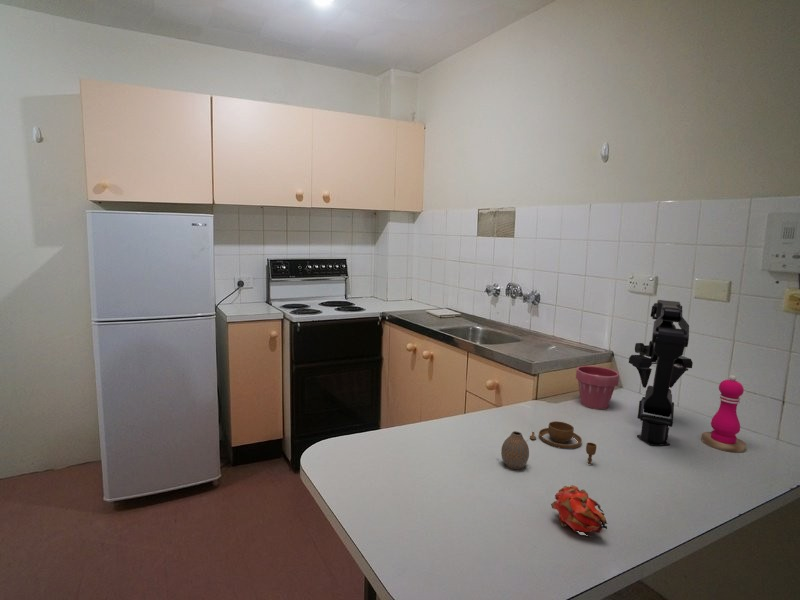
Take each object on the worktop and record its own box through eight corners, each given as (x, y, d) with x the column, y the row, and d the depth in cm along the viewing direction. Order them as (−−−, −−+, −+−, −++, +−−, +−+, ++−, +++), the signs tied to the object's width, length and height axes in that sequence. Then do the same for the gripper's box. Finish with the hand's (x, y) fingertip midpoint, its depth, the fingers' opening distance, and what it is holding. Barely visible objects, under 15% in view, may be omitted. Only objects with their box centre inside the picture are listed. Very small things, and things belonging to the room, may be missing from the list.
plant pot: (568, 396, 177) (572, 363, 176) (607, 399, 176) (611, 366, 174) (579, 410, 163) (583, 374, 162) (621, 413, 162) (625, 378, 160)
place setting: (590, 438, 141) (592, 420, 140) (597, 469, 122) (600, 448, 121) (530, 429, 146) (531, 410, 145) (528, 457, 127) (530, 436, 126)
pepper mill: (741, 447, 136) (752, 380, 133) (712, 442, 138) (722, 376, 136) (733, 437, 143) (743, 373, 140) (705, 432, 145) (715, 370, 142)
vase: (529, 463, 123) (533, 431, 121) (525, 474, 116) (528, 441, 115) (503, 456, 125) (506, 425, 124) (497, 467, 119) (500, 434, 118)
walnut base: (721, 453, 135) (722, 448, 135) (692, 436, 146) (693, 432, 145) (754, 452, 137) (755, 447, 136) (723, 436, 147) (724, 431, 147)
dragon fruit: (552, 515, 102) (599, 555, 93) (535, 504, 97) (583, 545, 88) (574, 483, 103) (623, 519, 93) (558, 470, 98) (608, 507, 88)
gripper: (671, 334, 158) (665, 379, 160) (621, 333, 155) (615, 379, 157) (697, 342, 147) (690, 390, 149) (643, 341, 144) (637, 390, 146)
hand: (657, 387), depth 151 cm, fingers open, 9 cm apart
